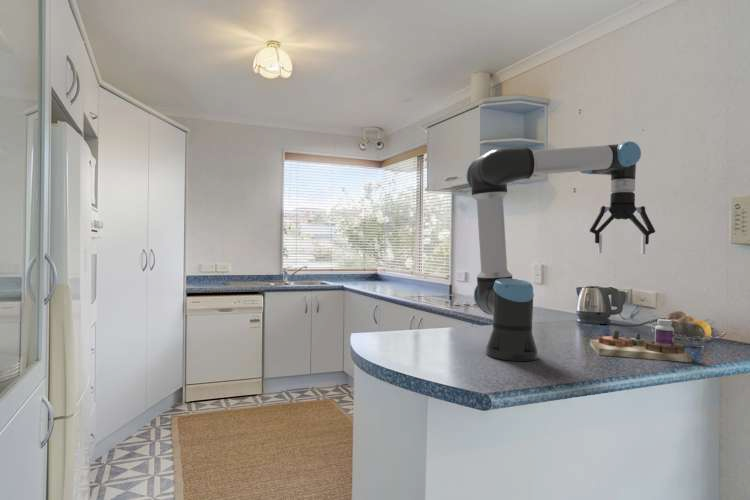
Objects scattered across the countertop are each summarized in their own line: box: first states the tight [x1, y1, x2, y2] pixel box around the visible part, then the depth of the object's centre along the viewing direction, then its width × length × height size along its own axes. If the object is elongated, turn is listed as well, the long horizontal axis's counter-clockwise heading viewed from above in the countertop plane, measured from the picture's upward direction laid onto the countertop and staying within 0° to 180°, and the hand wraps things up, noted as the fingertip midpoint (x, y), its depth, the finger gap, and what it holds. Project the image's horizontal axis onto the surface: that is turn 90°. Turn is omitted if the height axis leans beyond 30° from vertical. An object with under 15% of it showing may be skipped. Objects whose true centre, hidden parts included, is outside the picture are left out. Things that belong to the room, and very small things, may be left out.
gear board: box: [589, 329, 693, 363], centre depth 155 cm, size 26×17×6 cm, turn 74°
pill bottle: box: [654, 318, 675, 346], centre depth 151 cm, size 5×5×10 cm
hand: (621, 253), depth 164 cm, fingers open, 13 cm apart
